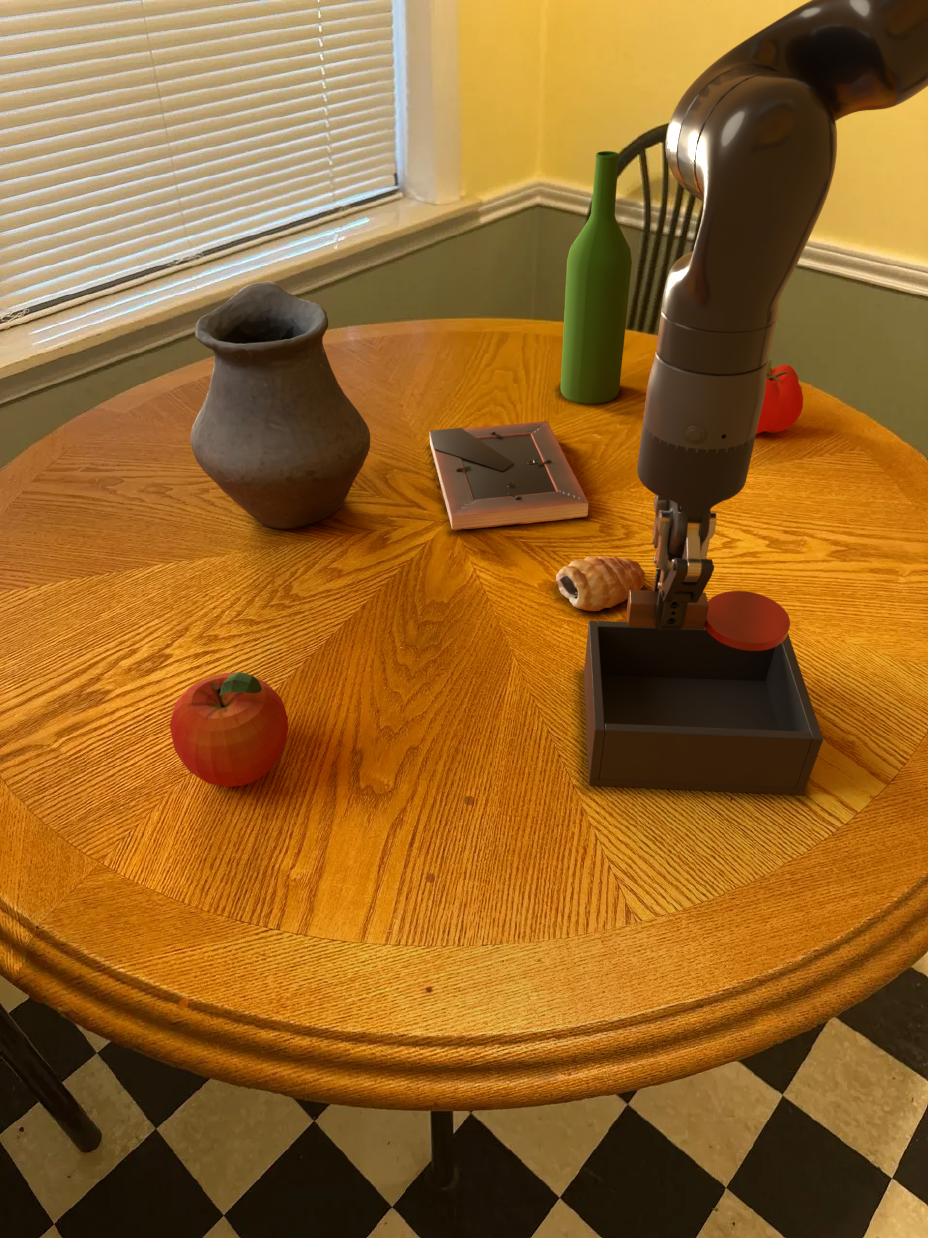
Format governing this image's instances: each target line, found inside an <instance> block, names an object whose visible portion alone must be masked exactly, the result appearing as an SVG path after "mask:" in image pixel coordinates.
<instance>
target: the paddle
mask: <svg viewBox="0 0 928 1238" xmlns="http://www.w3.org/2000/svg"><path fill="white" fill-rule="evenodd" d="M658 592H659V591H653V590H643V589H640V590H630V591H629V597H628V599H627V606H626V620H627V621H626V622H628V627H650V628H656V627H655V622H654V618H655V612H656V606H657V599H658ZM790 627H791V619H790V616H789V614H788V612H787V611H786V610H785V608H784V607H783V606H782V605H780V604H779V603H778V602H776V601H775V600H774V599H772V598H770V597H767V596H765V595H763V594H760V593H756V592H752V591H746V590H730V591H724V592H720V593H717V594H716V595H714V596H712V597H711V598H709V599H708V597H707V593H706V592H705V591H703V593H702V594H701V596H700V598H699V600H698V602H697V603H688V605H687V610H686V615H685V620H684V626H683V628H682V629H704V628H706V630H707V631H708V633H709V634H710V635H711V636H712V637H714V638H715V639H716V640H718V641H719V642H721V643H723V644H725V645H727V646H730V647H733V648H736V649H740V650H747V651H762V650H768V649H771V648H774V647H776V646H778V645H779V644H781V643H782V642H783V641H784V640H785V639H786V637H787V635H788V634H789V631H790Z"/></svg>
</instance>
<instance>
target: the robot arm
mask: <svg viewBox="0 0 928 1238" xmlns="http://www.w3.org/2000/svg"><path fill="white" fill-rule="evenodd" d="M926 88H928V0H809V1H807V2H806V3H804V4H802V5H800V6H799V7H796V8H795V9H793V10H792V11H789V12H788V13H787V14H785V15H784V16H781V17H780V18H778V19H777V20H776V21H775V20H774V22H772V23H771V24H769V25H767V26H765V27H764V28H762V29H761V30H759V31H758V32H756V33H754V34H753V35H751V36H749V37H748V38H746V39H745V40H743V41H742V42H740V43H739V44H737V45H736V46H734V47H733V48H731V49H730V50H728V51H727V52H726V53H724V54H723V55H721V56H720V57H719V58H718V59H717V60H715V61H714V62H713V63H712V64H710V65H709V66H708V67H707V68H706V69H705V70H704V71H703V72H702V73H701V74H700V75H699V76H698V77H697V78H696V79H695V80H694V81H693V82H692V84H690V86H689V87H688V88H687V89H686V91H684V93H683V94H682V96H681V97H680V100H679V101H678V102H677V105H676V106H675V108H674V110H673V112H672V115H671V117H670V119H669V123H668V126H667V129H666V135H665V156H666V162H667V164H668V168H669V170H670V172H671V174H672V175H673V177H674V179H675V180H676V181H677V183H678V184H679V185H680V186H681V187H682V188H683V189H684V190H685V191H686V192H688V194H690V195H692V196H694V197H695V199H698V200H699V201H701V202H702V203H703V204H702V214H701V220H700V224H699V228H698V232H697V236H696V240H695V242H694V247H693V250H692V251H690V252H688V253H685V254H684V255H682V256H681V257H680V258H679V259H677V260H676V261H675V262H674V263H673V264H672V266H671V268H670V269H669V272H668V275H667V278H666V281H665V285H664V289H663V294H662V301H661V308H660V317H659V323H658V330H657V338H656V346H655V347H656V349H655V353H654V358H653V361H652V366H651V369H650V372H649V377H648V381H647V387H646V395H645V403H644V411H643V418H642V425H641V434H640V442H639V450H638V457H637V465H636V466H637V467H636V473H637V476H638V479H639V481H640V482H641V484H642V485H643V486H644V487H645V488H646V489H647V490H648V491H649V492H651V493H653V494H654V500H653V509H654V514H655V515H654V516H655V517H654V520H653V521H654V522H653V528H652V545H653V548H654V550H655V549H656V551H655V555H654V557H653V564H654V568H655V576H654V581H653V587H652V591H659V592H658V599H657V606H656V612H655V618H654V622H655V627H656V628H657V629H659V630H680V629H682V628H683V626H684V620H685V615H686V610H687V605H688V603H697V602H698V600H699V598H700V596H701V594H702V593H703V592H705V589H706V588H707V585H708V583H709V582H710V579H711V577H712V576H713V572H714V570H715V564H714V562H713V559H712V558H707V557H708V551H709V546H710V540H711V539H712V538H713V537H714V536H715V531H716V528H717V512H716V511H711V510H712V508H714V507H715V506H716V505H718V504H720V503H722V502H724V501H728V500H730V499H732V498H734V497H735V496H737V495H738V494H739V493H740V492H741V491H742V490H743V488H744V487H745V485H746V484H747V483H746V482H747V477H748V473H749V469H750V465H751V460H752V456H753V451H754V446H755V442H756V437H757V434H756V433H757V428H758V424H759V419H760V415H761V410H762V406H763V401H764V396H765V388H766V373H767V365H768V361H769V357H770V353H771V349H772V345H773V339H774V335H775V330H776V325H777V321H778V316H779V310H780V304H781V298H782V294H783V292H784V290H785V288H786V286H787V284H788V283H789V281H790V279H791V277H792V275H793V273H794V271H795V269H796V268H797V265H798V263H799V261H800V259H801V257H802V254H803V252H804V250H805V248H806V246H807V244H808V242H809V240H810V237H811V235H812V233H813V230H814V228H815V226H816V224H817V222H818V220H819V217H820V215H821V212H822V210H823V208H824V205H825V203H826V200H827V198H828V196H829V192H830V190H831V185H832V182H833V177H834V174H835V169H836V162H837V157H838V156H837V153H838V129H837V121H839V120H840V119H842V118H844V117H847V116H848V115H851V114H853V113H854V114H855V113H858V112H865V111H879V110H880V111H881V110H886V109H891V108H894V107H896V106H899V105H900V104H903V103H904V102H906V101H908V100H910V99H911V98H913V97H914V96H916V95H918V94H919V93H920V92H921V91H923V90H925V89H926Z"/></svg>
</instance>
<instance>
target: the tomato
mask: <svg viewBox="0 0 928 1238" xmlns="http://www.w3.org/2000/svg"><path fill="white" fill-rule="evenodd" d="M799 380H800V379H799V375H798V374H797V372H796V370H795V369H794V368H793V367H792V366H791V365H790V364H782V365H778V366H777V367H775V368H774V369H773V368H772V359H768V365H767V373H766V388H765V396H764V401H763V406H762V410H761V415H760V419H759V424H758V428H757V433H756V435H759V434H760V433H764V432H767V433H769V434H773V433H775V434H776V433H779V432H783V431H785V430H787V429H789V428H791V427H792V426H793V425H794V424H795V423H796V422H797V421H798V420H799V418H800V417H801V414H802V411H803V408H804V395H803V389H802V386H801V385H800V382H799Z"/></svg>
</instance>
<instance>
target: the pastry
mask: <svg viewBox="0 0 928 1238" xmlns="http://www.w3.org/2000/svg"><path fill="white" fill-rule="evenodd" d="M645 581H646V574H645V571H644V569H643V568H642V567H641V564H640V562H638V561H635V560H633V559H630V558H626V557H625V558H624V557H623V558H622V557H617V556H612V557H607V556H605V555H600V556H598V557H595V556H593V555H588V556H586V557H585V558H584V559H578V558H575V559H573V560H571V561H570V562H569V564H568V565H564V566H563V567H562V568H561V569H560V570H559V571H558V572H557V573H556V575H555V582H556V584H557V586H558V590H559V592H560V594H561V595H562V596H563V597H564V598H565V599H568V600H569V602H570V604H571V605H572V606H573V607H574V608H577V609H579V610H583V611H586V612H599V611H601V610H604V609H606V608H608V609H610V608H613V607H615V606H617V605H619V604H621V603H623V602H625V601H626V600H628V597H629V591H630V590H642V588H643V587H644V585H645Z"/></svg>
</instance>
